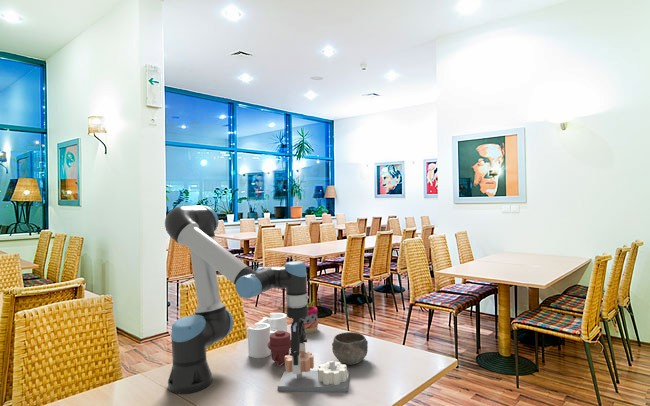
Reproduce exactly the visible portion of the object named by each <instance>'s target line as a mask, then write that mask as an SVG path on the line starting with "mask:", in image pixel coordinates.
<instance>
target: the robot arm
mask: <svg viewBox="0 0 650 406" xmlns="http://www.w3.org/2000/svg"><path fill="white" fill-rule="evenodd" d="M218 226H219V217H218V215H217V213H216V211H215V210H214V209H213V208H211V207H210V206H207V205H185V206H184V205H182V206H177V207H174V208H173V209H171V210H169V212H168V213H167V215H166V217H165V219H164V227H165V231H166V232H167V234H168V235H169V236H170V238H171V239H173V241H174V242H175V243H177V244H178V245H179V246H186V247H187V248H188V249H189V251H190V258H191V265H192V274H193V279H194V286H195V294H196V300H197V307H196V308H195V310H194V314H191V315H188V316H183V317H181V318H179V319H177V320H176V321H174V323H173V324H172V326H171V334H170V338H171V357H172V367H171V369H170V373H169V376H168V381H167V389H168V391H170V392H171V393H174V394H183V395H184V394H191V393H196V392H199V391H201V390H204V389H206V388H208V387H209V386H211V384H212V383H213V374H212V371H211V368H210V365H209V363H208V360H207V348H208V347H210V346H212V345H214V344H216V343H218V342H220V341H222V340H224V339H225V338H226V337H227V336H228V335H230V334H231V332H232V330H233V328H234V318H233V315H232V313H231V312H230V310H228V309H227V308H226V305H225V303H223V302H222V301H221V296H220V290H219V284H218V283H219V282H218V276H217V272H218V273H220V274H221V275H222V276H223V277H225V278H226V279H227V280H229V281H230V282H231V283H232V284H234V285H235V291H236V293H237V295H239V297H240V298H242V299H252V298H255V297H257V296H258V295H261V294H262V293H265V292H268V291H269V290H271V289H285V300H286V302H285V304H286V306H287V307H286V318H289V319H291V320H292V322H291V323H290V324H291V325H290V336H291V348H290V353H291V354H290V356H292V369H293V374H301V365H300V353H299V351H304V352H306V343H308V342H307V341H308V339H306V338H307V337H306V333H305V325H304V317H306V316H307V315H308V306H307V305H306V304H307V303H308V299H310V296H309V295H308V288H307V287H308V283H307V282H308V281H307V278H308V277H307V275H308V273H307V266H306V263H305V262H303V261H297V260H296V261H287V262H286V263H285V264H284V267H281V266H280V267H279V266H268V265H266V266H260V267H257V268H256V270H254V269H252V267H249V266H248V265H247V264H246V263H244V262H243V261H242V260H240V259H239V258H238V257H236V256H235V255H234V254H233V253H231V252H230V251H229V250H228V249H226V248H225V247H223V246H222V245H221V244H219V243H218V242H217V241H216V240H214V239H215V238H216V236H215V234H216V233H215V231H216V230H217V228H218Z"/></svg>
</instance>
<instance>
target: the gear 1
mask: <svg viewBox="0 0 650 406" xmlns="http://www.w3.org/2000/svg"><path fill="white" fill-rule="evenodd" d="M299 353H300V365H301V372H309V371H310V370H311V369H314V368H315V365H314V364H315V363H314V362H315V361H314V360H315V357H314V355H313V353H312V352H310V351H307V352H306V351H305V352H304V351H299ZM290 354H291V352H289V355H286V356H285V363H284V369H285V370H286V371H287V372H293V369H292V356H290Z"/></svg>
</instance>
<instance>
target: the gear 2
mask: <svg viewBox="0 0 650 406" xmlns="http://www.w3.org/2000/svg"><path fill="white" fill-rule="evenodd" d="M329 362H330V361H326V362H325V363H324V364H323V363H320V364H319V365H318V368H317V371H318V380H319V382H322V381H323V384H325V385H329V384H334V385H339V384H340V383H341V382H345V381H346V380H347V371H348V370H347V369H348V368H347V366H348V365H347V364H343V363H342V362H340V361H335V369H333V370H331V369H330V368H329Z"/></svg>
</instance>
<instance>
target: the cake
mask: <svg viewBox="0 0 650 406" xmlns="http://www.w3.org/2000/svg"><path fill="white" fill-rule="evenodd" d="M314 303H315V300H312V301H311V302H307V304H306V305H307V306H308V315H307V316H306V317H304V325H305V334H312V333H317V332H318V327H319V320H318V316H319V314H318V307H316V306H314Z"/></svg>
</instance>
